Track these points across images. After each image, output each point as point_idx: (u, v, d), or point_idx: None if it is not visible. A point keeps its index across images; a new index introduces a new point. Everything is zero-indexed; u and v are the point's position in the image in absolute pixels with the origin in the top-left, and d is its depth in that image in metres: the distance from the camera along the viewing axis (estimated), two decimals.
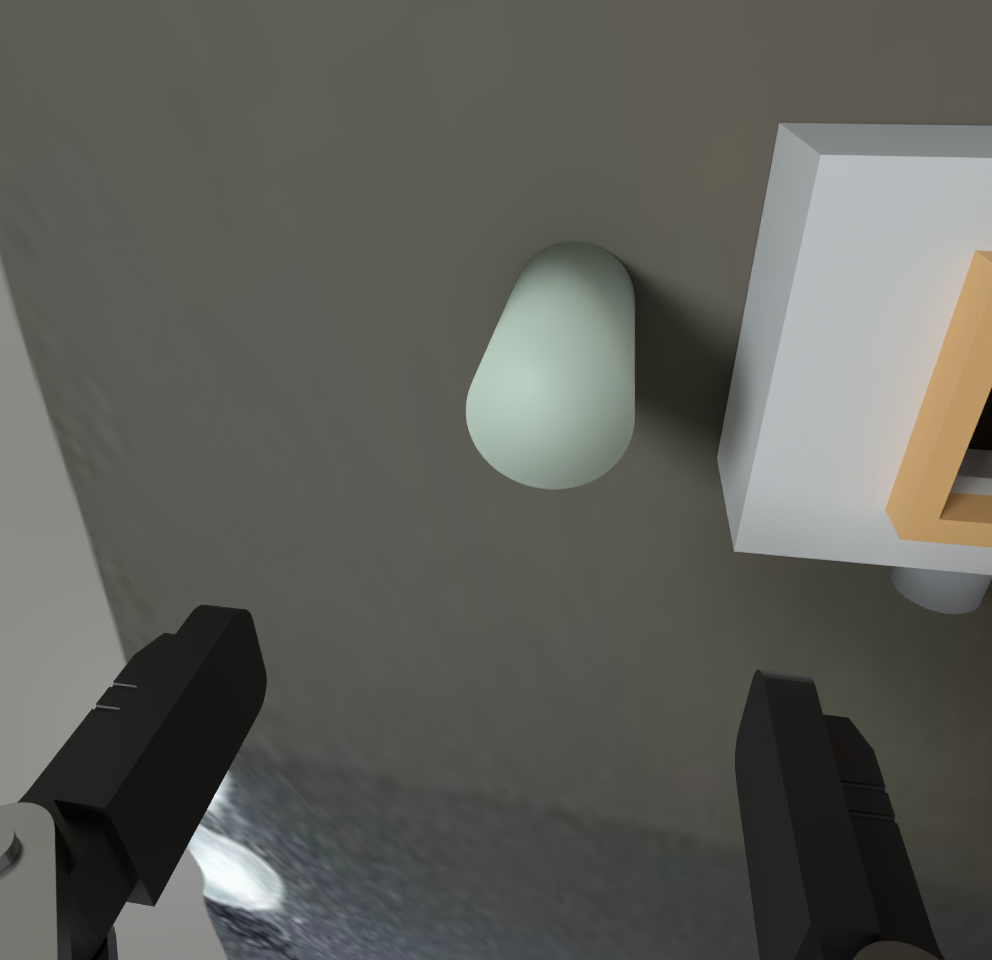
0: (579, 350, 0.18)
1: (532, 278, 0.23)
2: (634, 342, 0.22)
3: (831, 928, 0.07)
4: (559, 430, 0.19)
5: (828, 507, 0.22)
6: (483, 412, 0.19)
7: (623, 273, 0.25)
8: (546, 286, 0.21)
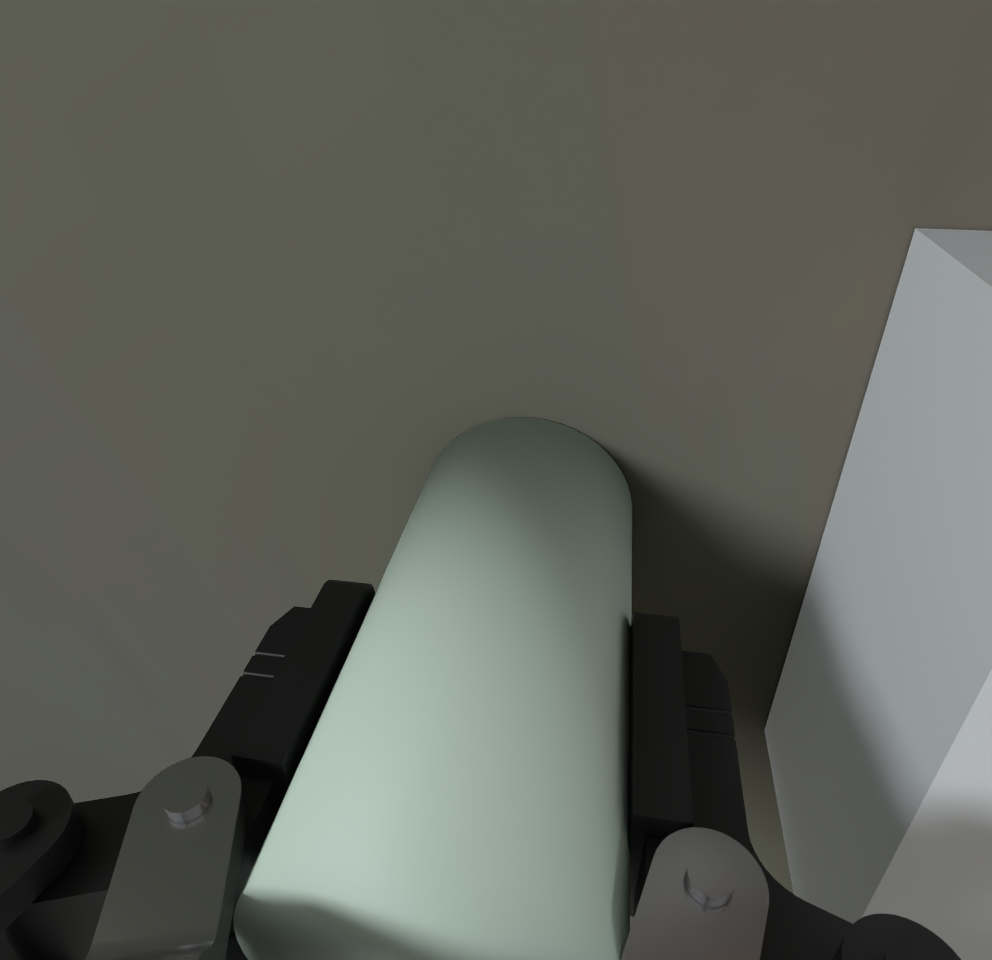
0: (486, 888, 0.07)
1: (435, 522, 0.12)
2: None
3: (652, 820, 0.08)
4: None
5: None
6: (276, 945, 0.08)
7: (611, 480, 0.14)
8: (449, 574, 0.10)
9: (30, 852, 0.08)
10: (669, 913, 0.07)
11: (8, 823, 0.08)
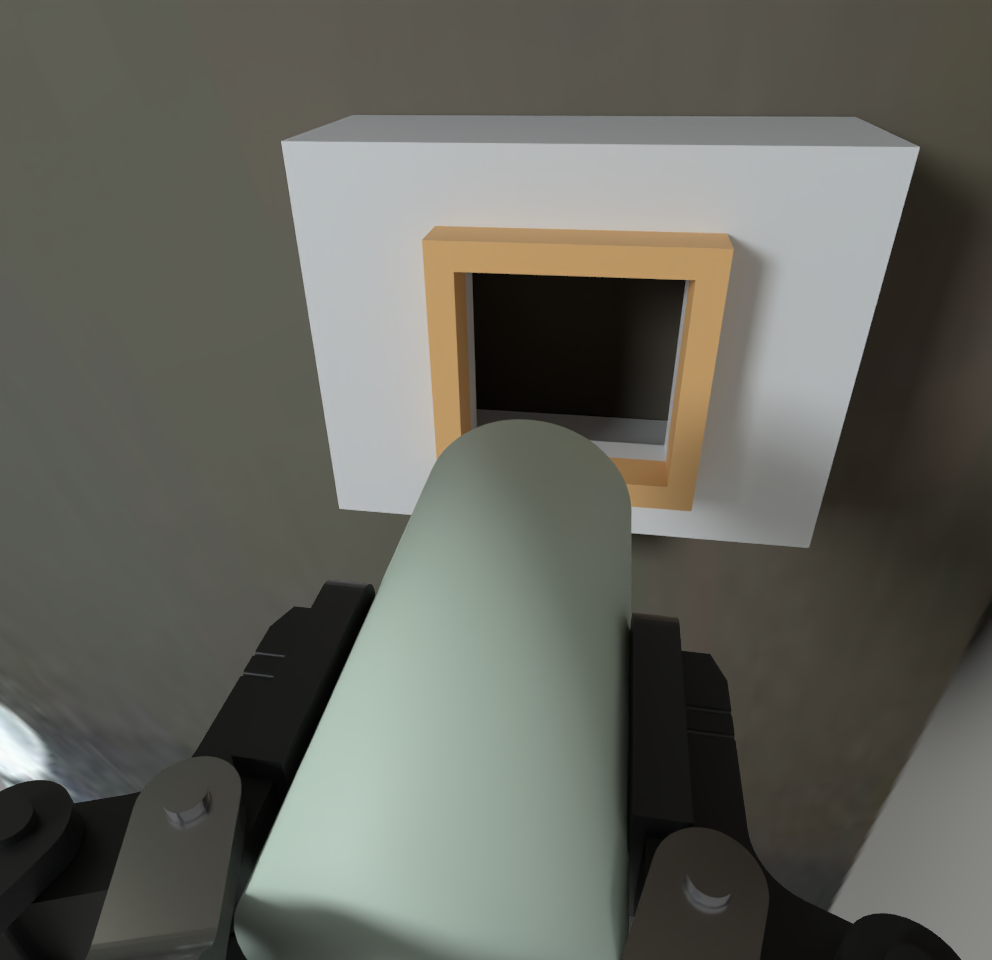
0: (484, 890, 0.07)
1: (434, 524, 0.12)
2: None
3: (652, 820, 0.08)
4: None
5: (402, 465, 0.24)
6: (276, 947, 0.08)
7: (610, 482, 0.14)
8: (449, 577, 0.10)
9: (30, 852, 0.08)
10: (669, 913, 0.07)
11: (8, 824, 0.08)
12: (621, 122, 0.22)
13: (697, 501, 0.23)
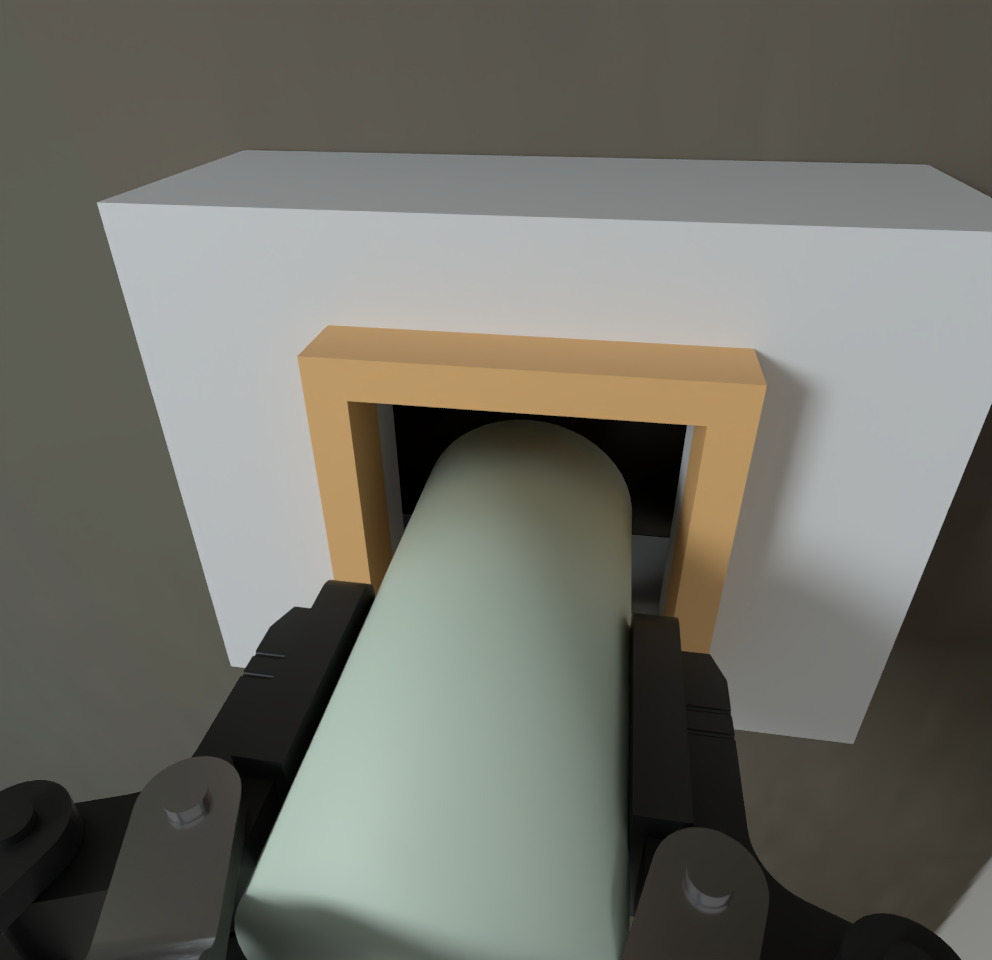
0: (486, 891, 0.07)
1: (435, 525, 0.12)
2: None
3: (652, 820, 0.08)
4: None
5: None
6: (276, 947, 0.08)
7: (611, 482, 0.14)
8: (449, 577, 0.10)
9: (30, 852, 0.08)
10: (669, 913, 0.07)
11: (7, 824, 0.08)
12: (602, 170, 0.16)
13: None
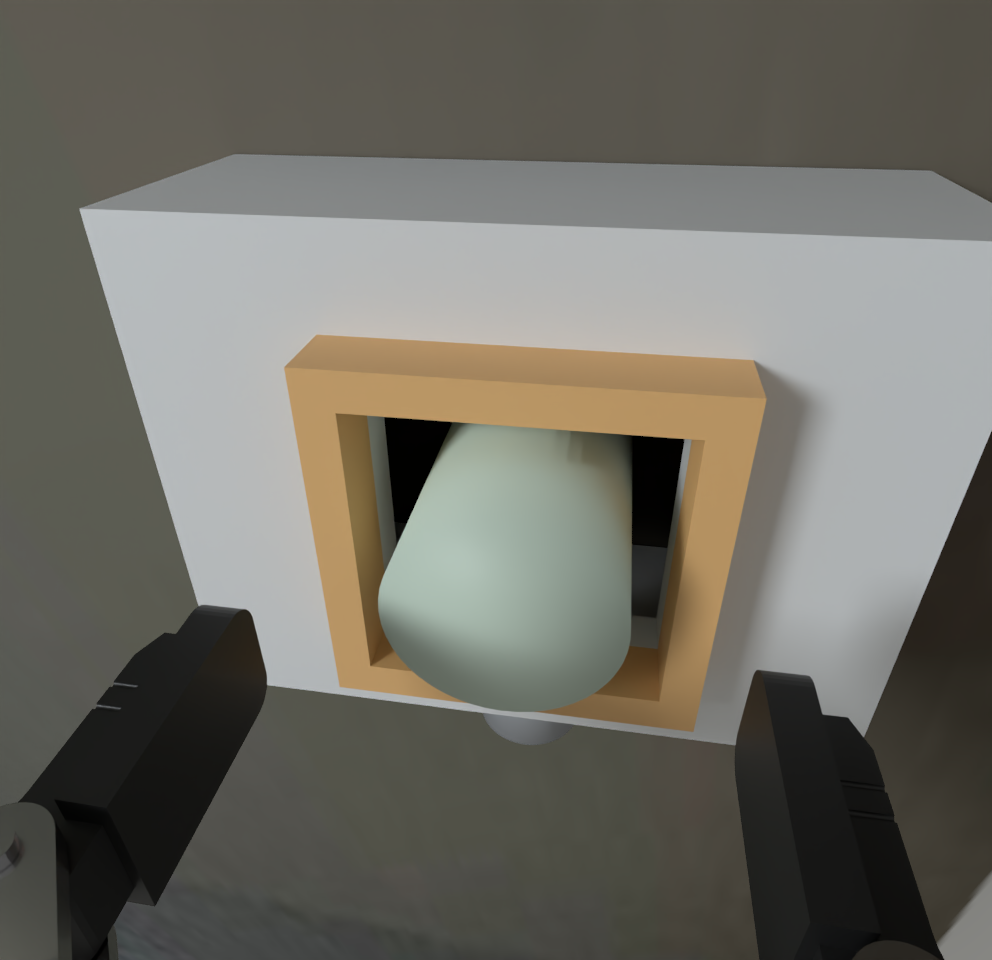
0: (545, 538, 0.11)
1: None
2: (631, 475, 0.16)
3: (831, 928, 0.07)
4: (517, 640, 0.13)
5: (297, 634, 0.18)
6: (404, 612, 0.13)
7: None
8: None
9: None
10: None
11: None
12: (598, 176, 0.15)
13: (701, 697, 0.17)
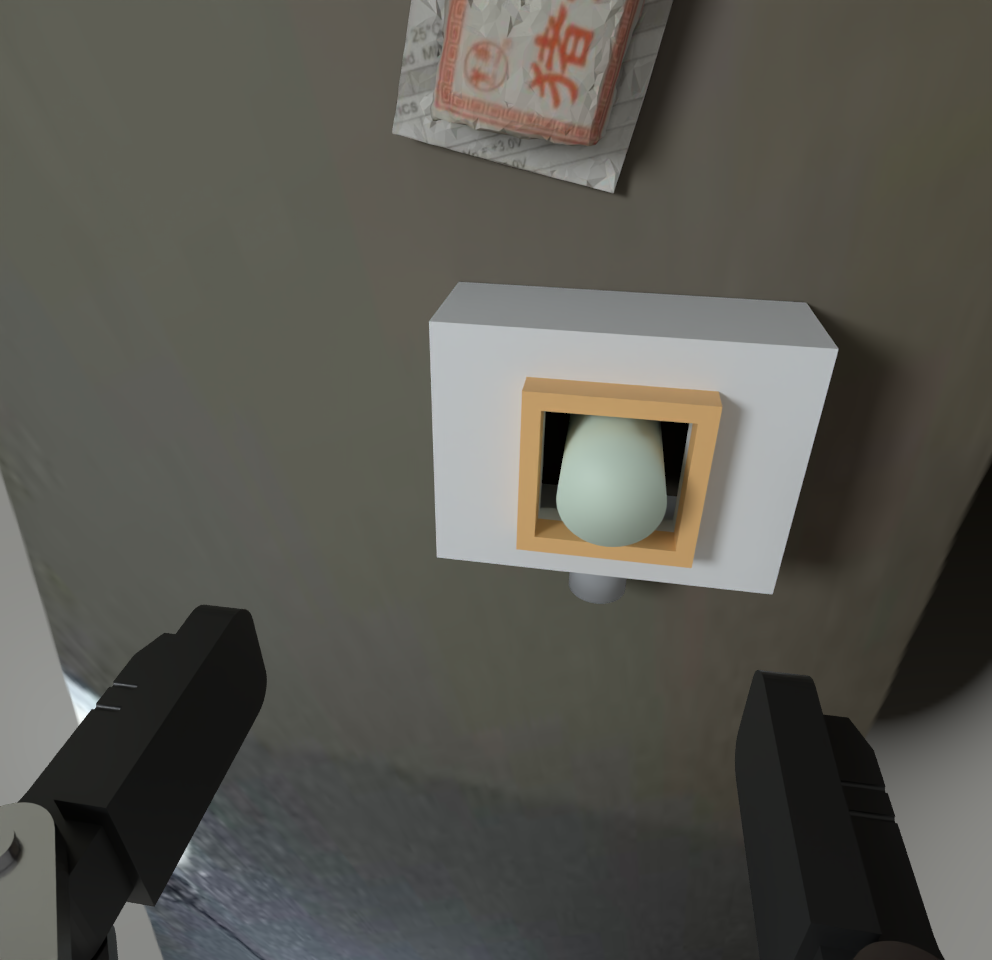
0: (633, 461, 0.28)
1: None
2: (662, 445, 0.33)
3: (830, 927, 0.07)
4: (617, 509, 0.29)
5: (486, 528, 0.34)
6: (568, 497, 0.29)
7: None
8: None
9: None
10: None
11: None
12: (648, 303, 0.32)
13: (695, 559, 0.33)
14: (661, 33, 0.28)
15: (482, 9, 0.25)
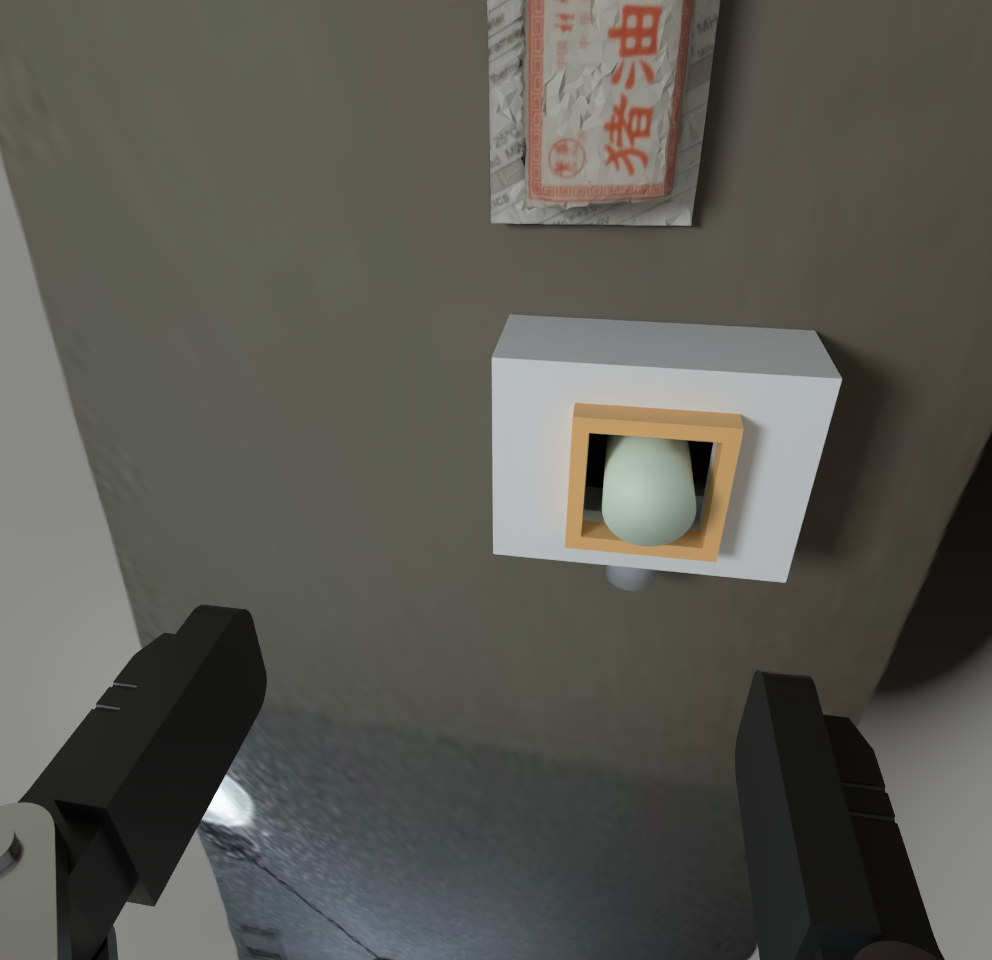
0: (668, 476, 0.33)
1: None
2: None
3: (831, 928, 0.07)
4: (653, 515, 0.35)
5: (537, 529, 0.40)
6: (612, 505, 0.35)
7: None
8: None
9: None
10: None
11: None
12: (677, 334, 0.37)
13: (718, 554, 0.39)
14: (707, 86, 0.32)
15: (556, 115, 0.30)
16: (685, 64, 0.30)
